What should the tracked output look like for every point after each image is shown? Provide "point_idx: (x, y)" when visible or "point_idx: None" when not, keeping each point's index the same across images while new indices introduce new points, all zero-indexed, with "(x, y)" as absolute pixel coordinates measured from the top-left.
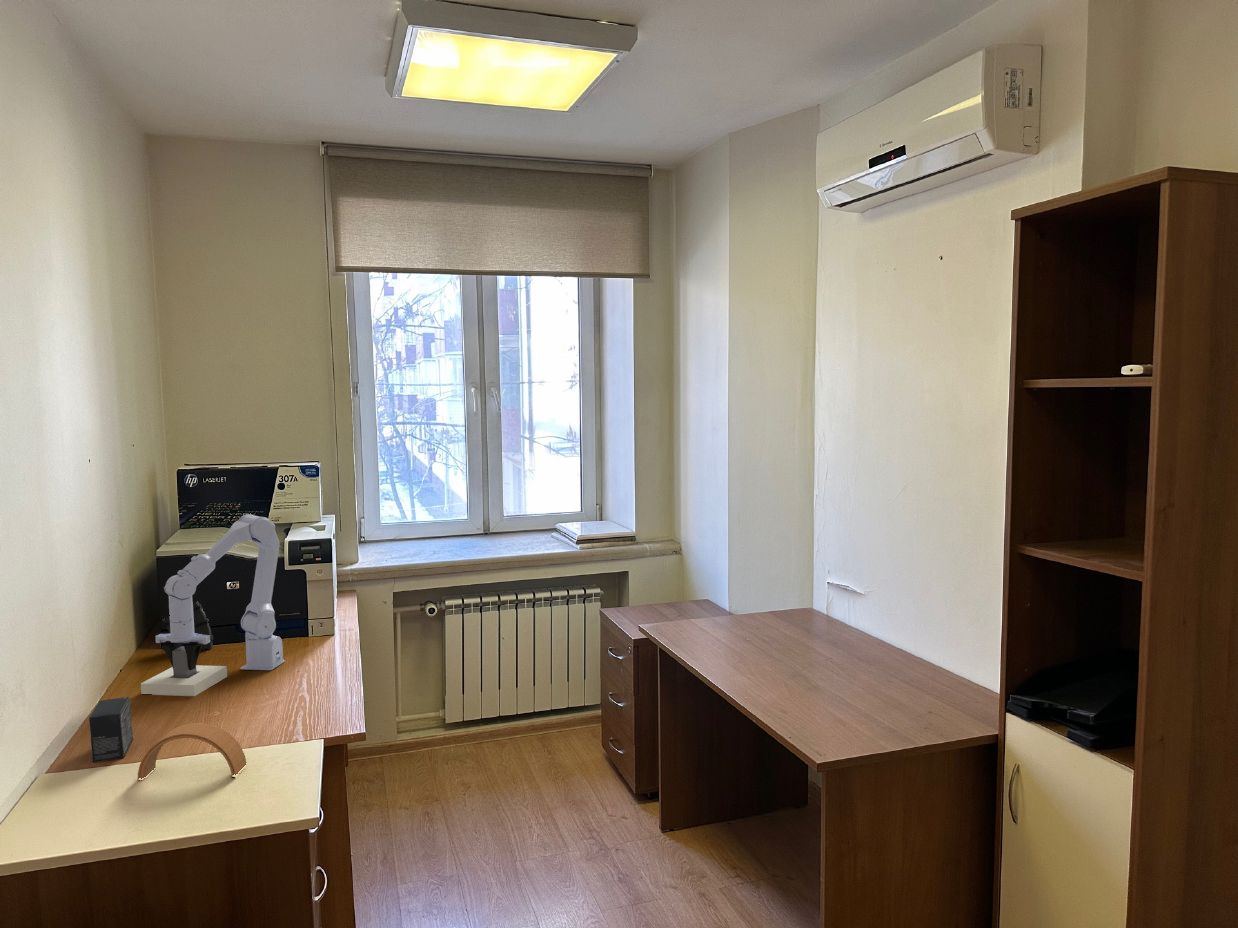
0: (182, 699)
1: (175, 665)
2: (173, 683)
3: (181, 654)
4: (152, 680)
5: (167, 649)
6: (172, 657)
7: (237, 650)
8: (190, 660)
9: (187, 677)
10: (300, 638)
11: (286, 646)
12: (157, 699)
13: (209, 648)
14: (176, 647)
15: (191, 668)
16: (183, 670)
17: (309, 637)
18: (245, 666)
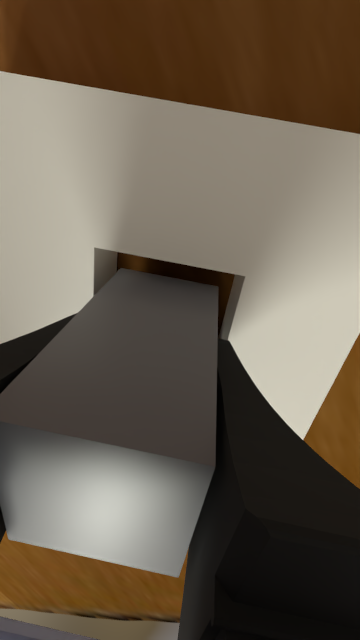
0: (49, 7)
1: (192, 331)
2: (146, 125)
3: (84, 395)
4: (358, 225)
5: (290, 487)
6: (223, 397)
7: (155, 579)
8: (23, 339)
9: (116, 274)
10: (32, 605)
11: (29, 573)
12: (241, 16)
13: None
14: (201, 550)
15: (73, 316)
16: (128, 298)
17: (14, 604)
18: None
